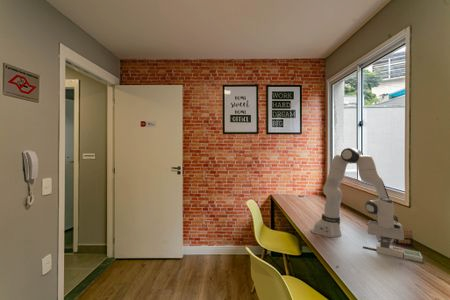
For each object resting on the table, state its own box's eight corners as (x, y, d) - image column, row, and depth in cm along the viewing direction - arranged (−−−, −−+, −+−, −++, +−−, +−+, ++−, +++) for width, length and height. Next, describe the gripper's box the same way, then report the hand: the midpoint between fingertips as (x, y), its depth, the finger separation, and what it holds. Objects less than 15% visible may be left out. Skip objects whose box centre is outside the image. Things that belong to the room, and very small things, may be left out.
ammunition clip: (395, 243, 167) (396, 227, 167) (394, 242, 169) (394, 226, 169) (413, 245, 165) (413, 229, 164) (411, 244, 166) (412, 228, 166)
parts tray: (404, 258, 146) (404, 254, 146) (402, 252, 154) (402, 248, 154) (422, 262, 142) (422, 258, 142) (419, 256, 149) (419, 252, 149)
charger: (380, 251, 154) (380, 238, 154) (380, 248, 158) (380, 235, 158) (389, 253, 151) (389, 239, 151) (388, 250, 155) (389, 237, 155)
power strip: (362, 249, 159) (362, 242, 159) (362, 246, 164) (363, 239, 164) (402, 257, 147) (403, 250, 147) (401, 254, 152) (401, 247, 152)
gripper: (367, 221, 157) (366, 241, 157) (405, 227, 146) (404, 248, 147) (367, 218, 162) (366, 238, 163) (403, 224, 151) (403, 244, 152)
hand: (384, 243), depth 155 cm, fingers closed on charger, 5 cm apart
